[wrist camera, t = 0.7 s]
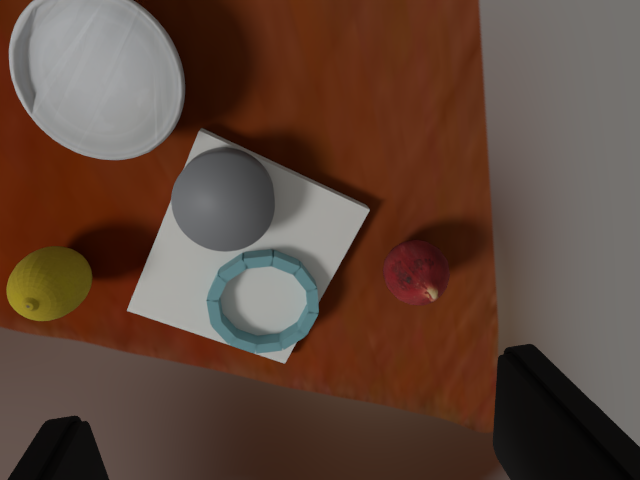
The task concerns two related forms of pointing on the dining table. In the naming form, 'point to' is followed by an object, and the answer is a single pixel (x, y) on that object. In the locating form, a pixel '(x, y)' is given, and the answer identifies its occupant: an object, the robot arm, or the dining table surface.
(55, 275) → the lemon
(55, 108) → the ramekin
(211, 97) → the dining table surface
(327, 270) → the carrier plate
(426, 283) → the pomegranate
